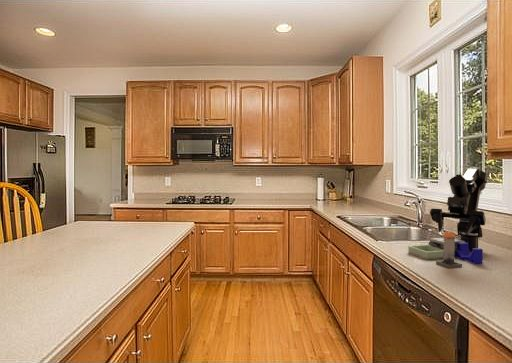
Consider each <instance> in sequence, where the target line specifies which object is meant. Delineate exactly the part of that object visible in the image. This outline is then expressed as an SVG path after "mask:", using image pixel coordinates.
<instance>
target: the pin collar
mask: <svg viewBox="0 0 512 363" xmlns="http://www.w3.org/2000/svg"><path fill="white" fill-rule="evenodd" d="M435 264H436V265H439V266H441V267H445V268H447V269H451V268H452V269H454V268H462V267H463V264H462V263H460V262H456V261H454V264H451V265H448V264H445V263H444V260H436V261H435Z"/></svg>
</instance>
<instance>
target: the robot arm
mask: <svg viewBox="0 0 512 363" xmlns="http://www.w3.org/2000/svg"><path fill="white" fill-rule="evenodd" d="M487 175H488V174H487V173H486V172H485V171H483V170H481V168H480V167H468V168H466V172H465V173H464V174H456V175H455V176H452V177H451V178H449V179H448V180H449V181H448V183H449V187H450V191H451V194H452V195H453V196H449V197H447V202H446V206H447V212H446V211H443V209H442V208H434V207H433V208H431V209H430V211H429V214H430V217H431V220H432V221H433V222H435V223H436V224H437V226H438V232H439V233H442V230H443V226H444V219H445V218H449V219H455V220H458V221H457V224H456V229H457V231H456V232H457V236H460V239H459V240H463V241H465V243H468V247H469V251H470V252H472V248H479V238H483V229H482V226H485V225H486V222H487V220H486V215H485V212H484V211H483V210H478V208H479V201H480V196H481V195H480V194H481V192H482V191H483V190H485V189H486V185H487V184H488V180H489V179H488V176H487Z"/></svg>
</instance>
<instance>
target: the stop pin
mask: <svg viewBox="0 0 512 363" xmlns="http://www.w3.org/2000/svg"><path fill="white" fill-rule="evenodd" d="M443 238H444V258H443V261H444V263H445V264H448V265H451V264H454V262H455V253H454V251H455V239H456V238H455V232H453V231H452V232H451V231H444V232H443Z"/></svg>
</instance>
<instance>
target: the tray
mask: <svg viewBox="0 0 512 363" xmlns="http://www.w3.org/2000/svg"><path fill="white" fill-rule="evenodd" d="M407 248H408V250H407V251H408V253H409V254H411V255H414V256H416V257H419V258H422V259H425V260H428V261H429V260H436V259H438V260H439V259H440V260H441V259H444V250H443V249H439V248H436V247H435V250H433V248H434V247H433V246H429V245H428V244H422V245H421V244H420V245H417V244H416V245H408V247H407Z"/></svg>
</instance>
